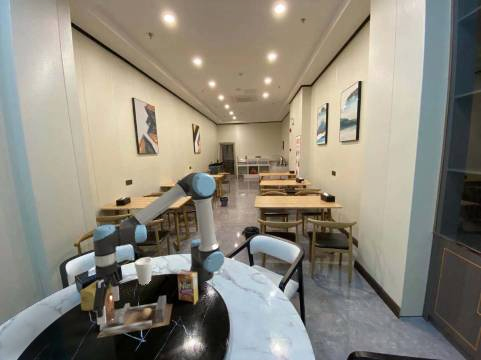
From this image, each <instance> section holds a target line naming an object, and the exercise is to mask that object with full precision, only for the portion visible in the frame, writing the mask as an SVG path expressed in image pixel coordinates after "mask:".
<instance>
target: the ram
mask: <svg viewBox="0 0 481 360" xmlns="http://www.w3.org/2000/svg"><path fill="white" fill-rule="evenodd" d="M130 307H131V303H130V302H128V303H125V304H124V306H123V308H122V309H123V310H122V311H116V312H114V310H115V301H114V299H113V293H108V294H106V299H105V312H106V323H105V324H99V331H102V330H104V329H105V328H111V327H116V326H122V325H125V324H126V322H127V320H128V318H129V315H130Z"/></svg>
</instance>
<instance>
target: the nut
mask: <svg viewBox="0 0 481 360" xmlns="http://www.w3.org/2000/svg"><path fill="white" fill-rule="evenodd" d="M151 314H152V310H151V309H150V308H146V309H144V310H143V312H142V317H143V318H144V319H147V318H149V317H150V316H151Z"/></svg>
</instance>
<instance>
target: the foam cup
mask: <svg viewBox="0 0 481 360" xmlns="http://www.w3.org/2000/svg"><path fill="white" fill-rule="evenodd" d="M134 268H135V270H136V276H137V281H138V284H139V285H140V284H141V285H140V286H145V284H146V285H148V284H150V283H151V282H150V281H152V270H153V258H152V257H150V256H146V257H141V258H139V259H136V260H135V262H134ZM149 282H150V283H149Z"/></svg>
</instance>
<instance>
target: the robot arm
mask: <svg viewBox="0 0 481 360" xmlns="http://www.w3.org/2000/svg"><path fill="white" fill-rule="evenodd" d="M215 190H216V181H215V179H214V177H213V176H212V175H210V174H209V173H206V172H191V173H188V174H187V175H185V176H184V177H183V178H181V179H180V180H179V181H177V182H176V183H174V186H173V187H172V188H171V189H169V190H168V191H165V193H163V194H162V195H161V196H159V197H158V198H156V199H154V201H152V202H150V203H149V204H148V205H146V206H144V207H143V208H142V209H141V210H139V211H138V212H136V213H135V214H134V215H132V216H130V217H129V218H125V219H123V220H122V221H121V222H120V224H119V228H116V225H114V224H103V225H100V226H96V227H95V228H94V229H93V232H92V235H93V236H92V237H93V239H92V240H93V241H92V242H93V243H92V244H93V251H94V256H93V259H94V265H95V266H94V269H95V275H96V276H97V277H99V280H100V281H99V282H97V283H96V292H95V299H94V306H93V311H92V312H93V313H95V312H94V311H97V312H96V323H97V325H98V326H100V324H105V323H106V312H105V306H104V303H105V299H106V294H107V289H109V286H110V284H111V285H112V286H113V287H111V293H113V299H114V302H117V301H120V291H119V286H121V285H122V283H121V278H120V275H119V272H118V261H117V260H118V258H117V257H118V256H117V248H118V247H122V246H124V247H125V246H128V245H133V244H138V243H142V242H146V240H147V238H148V237H147V235H148V231H147V228H146V225H148V224H149V223H150V222H152V221H153V220H154V219H155V218H157V217H158V216H159V215H161V214H162V213H164V212H165V211H166V210H168V209H169V208H170V207H172V206H173V205H174V204H175V203H177V202H178V201H180V200H181V199H182V198H187V197H188V196H191V200H192V201H193V202H194V203H195V211H196V219H197V227H198V234H199V238H195V239H193V240H191V242H190V261H191V263H190V264H191V265H190V269H189V271H193V272H197V284H201V283H206V282H208V281H210V280H211V279H213V278H214V275H215V274H214V273H215V272H218V271H219V270H220V269H221V268H222V267H223V266H224V263H225V255H224V254H223V252H222V251H221V248H220V246H221V245H220V243H219V241H217V237H216V228H215V220H214V213H213V204H212V200H213V198H214V196H215V195H214V192H215ZM104 286H106V287H104Z"/></svg>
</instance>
